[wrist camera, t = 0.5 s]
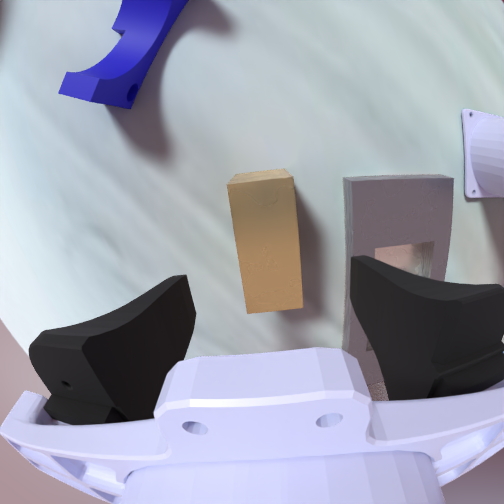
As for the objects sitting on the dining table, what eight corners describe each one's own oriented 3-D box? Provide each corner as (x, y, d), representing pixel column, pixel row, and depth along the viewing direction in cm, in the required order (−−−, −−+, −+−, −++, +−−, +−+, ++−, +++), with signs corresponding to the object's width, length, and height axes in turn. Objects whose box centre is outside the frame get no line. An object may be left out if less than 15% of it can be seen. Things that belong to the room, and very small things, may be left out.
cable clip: (153, -20, 13) (127, -53, 8) (199, -14, 14) (181, -52, 8) (90, 97, 17) (44, 90, 12) (131, 109, 18) (90, 101, 12)
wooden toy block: (284, 168, 19) (293, 176, 14) (293, 270, 22) (303, 307, 17) (235, 174, 20) (227, 184, 15) (250, 275, 23) (247, 313, 17)
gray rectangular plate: (439, 174, 19) (453, 178, 17) (413, 359, 26) (420, 371, 24) (342, 177, 19) (351, 181, 17) (339, 375, 27) (343, 389, 25)
